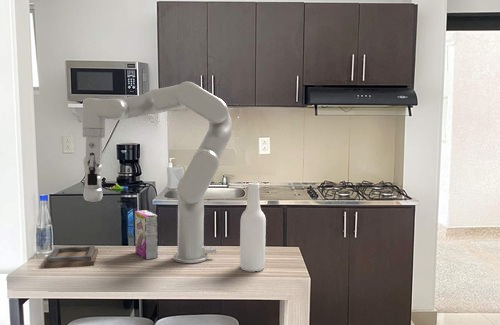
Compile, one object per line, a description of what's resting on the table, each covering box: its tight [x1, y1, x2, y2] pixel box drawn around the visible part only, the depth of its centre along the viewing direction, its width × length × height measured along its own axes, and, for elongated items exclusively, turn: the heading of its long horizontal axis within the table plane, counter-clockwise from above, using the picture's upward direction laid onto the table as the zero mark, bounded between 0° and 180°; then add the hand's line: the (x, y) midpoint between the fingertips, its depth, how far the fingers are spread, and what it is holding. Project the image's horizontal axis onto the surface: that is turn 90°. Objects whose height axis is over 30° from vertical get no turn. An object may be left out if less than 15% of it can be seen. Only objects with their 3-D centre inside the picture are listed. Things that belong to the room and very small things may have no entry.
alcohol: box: [239, 182, 267, 273], centre depth 159 cm, size 9×9×30 cm
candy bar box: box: [134, 209, 159, 261], centre depth 173 cm, size 11×5×16 cm, turn 34°
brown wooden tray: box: [44, 245, 99, 269], centre depth 167 cm, size 16×16×3 cm
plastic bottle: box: [82, 153, 104, 203], centre depth 164 cm, size 6×7×20 cm
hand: (93, 183), depth 164 cm, fingers closed on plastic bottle, 5 cm apart
